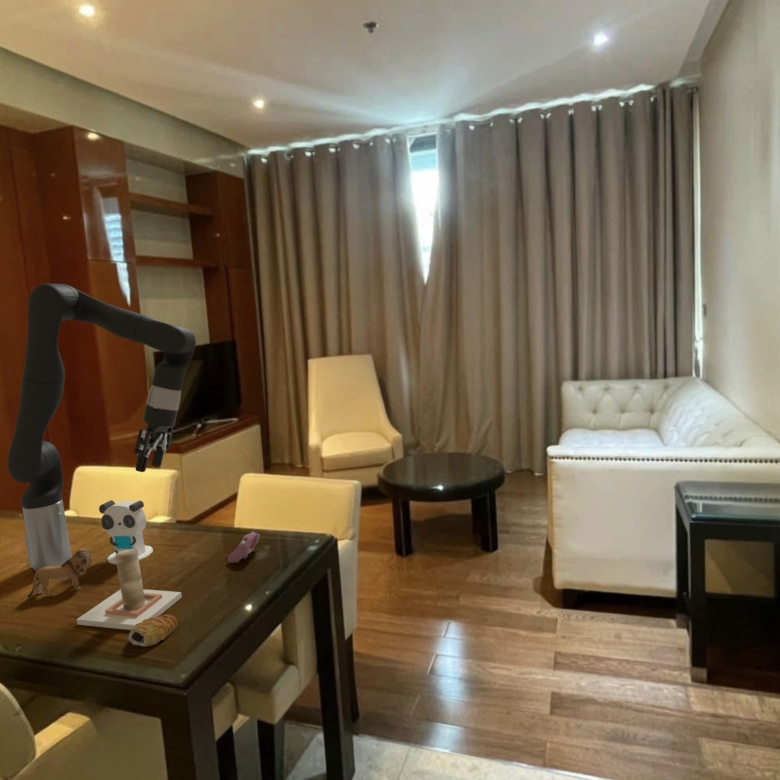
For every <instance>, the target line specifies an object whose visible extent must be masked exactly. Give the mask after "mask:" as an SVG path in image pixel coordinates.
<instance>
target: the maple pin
mask: <svg viewBox="0 0 780 780" xmlns="http://www.w3.org/2000/svg"><path fill="white" fill-rule="evenodd" d="M115 557H116V563H117V564H116V568H117V574H118V575H117V576H118V582H119V589H121V594H122V600H123V607H124V609H125V610H134V609H137V608H140V607H142V606H143V605H144V604H145V597H144V591H143V589H144V586H143V585H144V584H143V579H142V572H141V566H140V560H139V559H138V552H137V550H136V549H128V550H124V551H121V552H119V553H117V554H116V555H115Z"/></svg>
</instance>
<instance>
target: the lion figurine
mask: <svg viewBox="0 0 780 780" xmlns="http://www.w3.org/2000/svg"><path fill="white" fill-rule="evenodd" d="M92 562H93V555H92V553H91V549H88V548H84V547H82V548H80V549H78V550H77V551H76V552H75V553H74V554H73V555H72V557H71V558H69V559H68V560H67V561H66V562H65V563H64V564H62V565H60V566H46V567H43V568H40V569H39V570H38V571H35V574H34V577H33V581H32V588H31V592H30V593H29V594H28V595H27V596H26V598H31V597H33V594H34V592H35V594H36V595H40V593H41V594H42V593H44V595H45V596H46V597H53V592H49V590H48V586H49V583H50V580H53V581H59V582H60V581H65V580H68V579H70V580H71V585H72V586H73V587H74V589H75V590H76V591H79V589H80V590H82V586H80V582H79V577H81V576H82V575H85V574H86V573H87V570H88V569H89V568H90V567H91V565H92ZM41 587H42V590H41V589H40V588H41Z"/></svg>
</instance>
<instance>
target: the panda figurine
mask: <svg viewBox="0 0 780 780" xmlns="http://www.w3.org/2000/svg"><path fill="white" fill-rule="evenodd" d="M144 506H145V504H144V501H142V500H137V501H136V502H135V501H130V500H122V501H119V502H117V503H115V501H114V500H112V499H111V500H108V501H107V502H105V503H103V504H101V505H99V506H98V510H99V511H98V512H99V513H100V514H103V515H102V516H101V521H100V522H101V526H102V528H103V530H105V532H106V534H108V535H109V536H110V538H109V542H110V544H111V545H112V546H113V548H114V552H113V553H111V554H110V555H109V556H107V562H108V563H109V564H111V565H117V563H116V557H115V555H116V554H117V553H119V552H121V551H124V550H128V549H136V550H137V552H138V559H139V561H142V560H144V559H146V558H148V557H150V556H151V555H152V554H153V552H154V549H153V547H152V546H150V545H145V541H144V534H143V531H144V530H145V528H146V526H147V525H146V524H147V516H146V514H145V511H144V509H143V508H144ZM151 553H152V554H151ZM150 554H151V555H150Z"/></svg>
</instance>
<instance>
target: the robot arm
mask: <svg viewBox="0 0 780 780" xmlns="http://www.w3.org/2000/svg"><path fill="white" fill-rule="evenodd" d="M27 306H28V308H27V314H28V315H27V324H28V325H27V341H26V351H25V359H24V367H23V370H22V371H23V372H22V379H21V385H20V386H21V387H20V396H19V403H18V410H17V416H16V417H17V418H16V422H15V423H16V424H15V429H14V434H13V437H12V440H11V444H10V448H9V451H8V452H9V453H8V456H7V469H8V473H9V475H10V477H11V478H12V479H13V480H14V481H16V482H17V483H20V484H28V486H27V488H26V490H25V492H23V494H22V495H21V498H20V499H21V500H20V501H21V502H20V503H21V508H22V512H23V518H24V523H25V529H26V532H25V533H24V539H25V546H26V552H27V556H28V562H29V563H28V564H29V568H30V569H33V571H34V572H37V571H38V570H39V569H40V568H43V567H46V566H60V565H62V564H64V563H65V562H66V561H67V560H68V559H69V558H71V557H72V556H73V555H72V554H73V553H72V549H71V541H70V537H69V536H70V535H69V531H68V524H67V519H66V514H65V508H64V507H65V506H64V501H63V495H62V493H63V491H64V490H63V489H64V478H63V468H62V460H61V456H60V453H59V451H58V449H57V448H56V446H55V445H54V444H53V443H51V442H49V441H46V440H44V437H45V433H46V430H47V428H48V425H49V424H50V422H51V420H52V418H53V417H54V415H55V413H56V412H57V410H58V408H59V406H60V403H61V402H62V399H63V394H64V386H65V381H66V370H65V365H64V363H63V360H62V356H61V353H60V351H59V346H58V345H59V342H58V341H59V334H60V329H61V322H65V321H69V320H71V321H76V322H77V321H78V322H85V323H89V324H93V325H94V326H97V327H100V328H102V329H103V330H105V331H107V332H109V333H111V334H113V335H115V336H117V337H118V338H121V339H123V340H127V341H131V342H134V343H136V344H140V345H145V346H147V347H149V348H152V349H155V350H156V351H160V352H162V353H165V354H164V357H163V359H162V361H161V362H159V363H158V364H157V365H156V367H155V370H154V373H153V374H154V375H153V378H152V383H151V387H150V389H149V392H148V395H147V399H146V404H145V408H144V413H143V418H142V420H143V422H145V423H146V424H147V426H146V429H143V428H140V429H139V432H138V434H137V435H138V436H137V438H136V443H135V446H134V451H133V453H134V454H135V455H137V461H136V465H135V471H136V472H140V473H145V472H146V469H147V465H148V461H149V457H150V455H151V452H152V451H153V457H152V461H151V466H153V467H156V468H160V467H161V466H162V463H163V459H164V455H165V453H166V451H167V450H169V449H170V447H171V442H172V436H173V432H174V426H175V425H176V421H177V415H178V411H179V406H180V402H181V395H182V389H183V385H184V380H185V375H186V372H187V370H188V368H189V366H190V363H191V361H192V359H193V357H194V354H195V351H196V345H197V343H196V341H197V340H196V336H195V334H194V333H193V331H192V330H190V329H189V328H186V327H182V326H178V325H174V324H171V323H166V322H163V321H160V320H156V319H154V318H153V317H150V316H148V315H145V314H141V313H139V312H135V311H131V310H129V309H125V308H122V307H119V306H115V305H112V304H109V303H106V302H105V301H102V300H99V299H97V298H94V297H92V296H91V295H89V294H87V293H84V292H83V291H81V290H79V289H77V288H75V287H73V286H70V285H68V284H65V283H40V284H38V285H36V286H35V287H34V288H33V289H32V290H31V292H30V295H29V299H28V305H27Z"/></svg>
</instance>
